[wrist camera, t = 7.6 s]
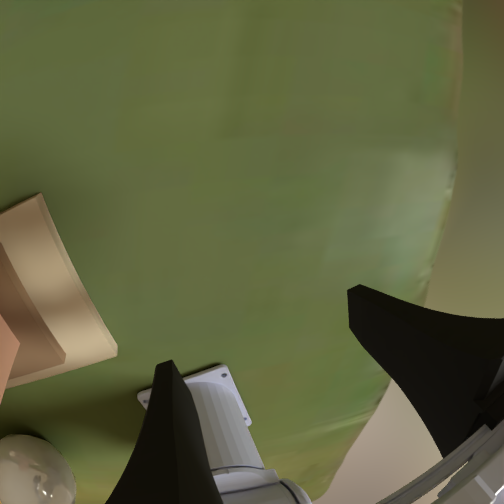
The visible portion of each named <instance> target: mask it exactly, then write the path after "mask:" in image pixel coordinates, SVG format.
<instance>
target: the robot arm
mask: <svg viewBox="0 0 504 504" xmlns="http://www.w3.org/2000/svg"><path fill="white" fill-rule="evenodd" d="M347 295H348V312H349V328H350V329H351V331H352V332H353V334H354V335H355V337H356V338H357V339H358V341H359V342H360V344H361V345H362V346H363V347H364V348H365V350H366V351H367V352H368V353H369V354H370V355H371V356H372V357H373V358H374V359H375V360H376V361H377V363H378V364H379V365H380V366H381V367H382V368H383V369H384V370H385V371H386V372H387V373H388V374H389V375H390V376H391V378H392V379H393V380H394V381H395V382H396V383H397V384H398V386H399V387H400V388H401V390H402V391H403V392H404V394H405V395H406V397H407V398H408V399H409V401H410V402H411V404H412V405H413V406H414V408H415V410H416V411H417V413H418V414H419V416H420V417H421V419H422V421H423V422H424V424H425V425H426V427H427V429H428V431H429V432H430V434H431V436H432V438H433V440H434V441H435V443H436V445H437V447H438V449H439V451H440V453H441V455H442V457H443V459H442V460H441V461H440V462H439V463H437V464H436V465H435V466H433V467H432V468H430V469H429V470H428V471H426V472H425V473H423V474H422V475H420V476H419V477H418V478H416V479H415V480H413V481H412V482H410V483H409V484H407V485H406V486H404V487H402V488H401V489H399V490H398V491H396V492H394V493H393V494H391V495H389V496H388V497H387V498H385V499H383V500H381V501H379V502H378V503H376V504H411V503H413V502H414V501H416V500H417V499H419V498H420V497H422V496H423V495H425V494H426V493H428V492H429V491H430V490H432V489H433V488H435V487H436V486H437V485H439V484H440V483H441V482H442V481H444V480H445V479H446V478H448V477H449V476H450V475H452V474H453V473H454V472H455V471H457V470H458V469H459V468H460V467H462V465H464V464H465V463H466V462H467V461H468V463H467V464H466V465H465V466H464V467H463V468H462V469H461V470H460V471H458V472H457V473H456V474H455V475H454V476H453V477H452V478H451V480H450V481H449V483H448V484H447V485H446V486H445V487H444V488H443V489H442V490H441V491H440V492H439V493H438V495H437V496H438V497H439V498H438V499H437V500H435V501H434V502H433V503H431V504H504V318H502V319H495V318H475V317H466V316H459V315H453V314H448V313H444V312H439V311H435V310H431V309H428V308H424V307H421V306H418V305H414V304H412V303H409V302H406V301H403V300H400V299H397V298H395V297H392V296H389V295H387V294H384V293H382V292H379V291H377V290H374V289H371V288H369V287H366V286H363V285H360V284H359V285H357V286H355V287H353V288H350V289H348V290H347ZM223 373H225V374H223ZM222 374H223V375H222ZM137 398H138V400H139V401H140V403H141V404H142V405H143V407H144V408H145V409H146V414H145V418H144V421H143V424H142V428H141V431H140V434H139V437H138V440H137V442H136V445H135V448H134V450H133V453H132V455H131V457H130V459H129V462H128V464H127V466H126V468H125V470H124V472H123V474H122V476H121V478H120V480H119V481H118V483H117V485H116V487H115V488H114V490H113V492H112V494H111V495H110V497H109V498H108V500H107V501H106V503H105V504H312V502H311V500H310V498H309V497H308V495H307V494H306V492H305V491H304V490H303V489H302V488H301V487H300V486H298V485H297V484H296V483H294V482H293V481H291V480H289V479H279V478H278V476H277V474H276V471H275V469H268V470H265V467H264V465H263V463H262V461H261V458H260V456H259V454H258V451H257V449H256V447H255V444H254V442H253V440H252V437H251V435H250V432H249V430H248V428H247V426H249V425H251V423H252V422H251V419H250V417H249V415H248V413H247V411H246V408H245V406H244V404H243V402H242V400H241V397H240V395H239V393H238V391H237V388H236V386H235V384H234V381H233V379H232V377H231V375H230V372H229V370H228V368H227V366H226V365H223V364H221V365H218V366H215V367H213V368H210V369H207V370H204V371H201V372H199V373H196V374H193V375H190V376H187V377H184V378H182V376H181V374H180V373H179V371H178V369H177V367H176V366H175V364H174V362H173V360H169V361H166V362H163V363H160V364H157V366H156V368H155V374H154V379H153V384H152V388H150V389H147V390H144V391H141V392H138V394H137Z"/></svg>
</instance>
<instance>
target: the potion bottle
mask: <svg viewBox="0 0 504 504" xmlns="http://www.w3.org/2000/svg"><path fill="white" fill-rule="evenodd" d="M75 498H76V479H75V476H74V474H73V472H72V470H71V468H70V466H69V464H68V463H67V461H66V460H65V458H64V457H63V455H62V454H61V452H60V451H59V450H57V449H56V448H55V447H54V446H53V445H52V444H50V443H49V442H47V441H45V440H43V439H41V438H39V437H37V436H35V435H16V434H8V435H7V436H5V437H4V438H3V439H1V440H0V502H1V503H2V504H75Z"/></svg>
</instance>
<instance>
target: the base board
mask: <svg viewBox="0 0 504 504" xmlns="http://www.w3.org/2000/svg"><path fill="white" fill-rule="evenodd" d="M0 314H1V316H2V318H3V319H4V321H5V322H6V324H7V325H8V327H9V328H10V330H11V331H12V333H13V334H14V335H15V337H16V338H17V340H18V341H19V343H20V346H19V348H18V351H17V354H16V357H15V360H14V362H13V365H12V368H11V371H10V374H9V377H8V381H7V384H6V387H5V389H7V388H11V387H14V386H18V385H22V384H25V383H29V382H33V381H36V380H40V379H43V378H47V377H50V376H54V375H57V374H60V373H64V372H67V371H71V370H74V369H77V368H80V367H84V366H87V365H90V364H93V363H97V362H100V361H103V360H106V359H109V358H112V357H115V356H117V344H116V342H115V341H114V339H113V337H112V336H111V334H110V332H109V331H108V329H107V327H106V326H105V324H104V322H103V320H102V319H101V317H100V315H99V313H98V312H97V310H96V308H95V306H94V305H93V303H92V301H91V299H90V297H89V295H88V294H87V292H86V290H85V288H84V286H83V284H82V282H81V280H80V278H79V276H78V274H77V272H76V270H75V268H74V266H73V264H72V262H71V260H70V258H69V256H68V254H67V252H66V250H65V247H64V245H63V243H62V241H61V239H60V236H59V234H58V232H57V230H56V227H55V225H54V223H53V220H52V218H51V216H50V213H49V211H48V208H47V206H46V203H45V201H44V198H43V196H42V193H39V194H36V195H34V196H32V197H30V198H28V199H26V200H24V201H22V202H20V203H18V204H16V205H15V206H13V207H11V208H9V209H7V210H5V211H3V212H1V213H0Z"/></svg>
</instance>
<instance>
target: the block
mask: <svg viewBox="0 0 504 504" xmlns="http://www.w3.org/2000/svg"><path fill="white" fill-rule="evenodd" d="M19 346H20V343H19V341H18V340H17V338H16V337H15V335H14V334H13V333H12V331H11V330H10V328H9V327H8V325H7V324H6V322H5V321H4V319H3V318H2V316H1V314H0V404H1V401H2V397H3V394H4V390H5V387H6V384H7V381H8V377H9V374H10V371H11V368H12V365H13V362H14V360H15V357H16V354H17V351H18V348H19Z"/></svg>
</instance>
